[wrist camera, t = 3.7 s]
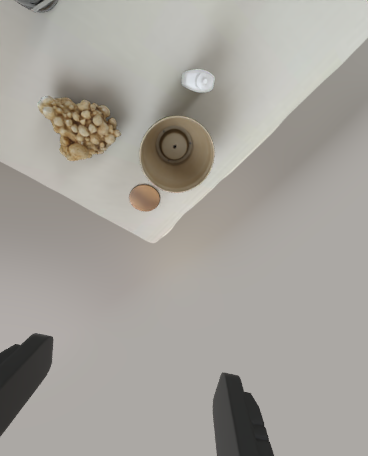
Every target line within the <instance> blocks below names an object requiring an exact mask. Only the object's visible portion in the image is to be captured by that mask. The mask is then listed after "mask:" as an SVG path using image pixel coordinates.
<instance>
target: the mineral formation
mask: <svg viewBox="0 0 368 456" xmlns="http://www.w3.org/2000/svg"><path fill="white" fill-rule="evenodd" d="M38 108H39V110H40V112H41V113H42V114H43V115H44V116H45V117H46V118H48V119H50V120H51V122H52V125H53V127H54V131H55V132H56V133H60V135H61V138H60V143H61V147H60V149H59V150H60V152H61V154H63V155H64V156H65V157H66V158H67V160H69V161H75V160H82V159H86V158H91V157H92V154H103V153H104V151H106V150H107V148H108V147H109V146H110V145H111V144H112V143H114V142H115V140H116V137H119V136H120V135H121V133H120V132H119V131H118V130H116V126H117V123H116V120H115V119H114V118H110V119H109V120H108V121H106V118H107V117H109V116H110V110H109V109H108V108H107V107H106V106H104V105H100V106H98V105H97V104H96V103H92V104H90V102H89V101H86V100H82V101H81V102H80V103H79V104H78V103H77V104H75V103H73V102H72V100H70V99H69V98H55V100H54V99H53V98H52V97H50V96H45V97H43V98H42V97H41V100H40V101H39V102H38Z"/></svg>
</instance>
